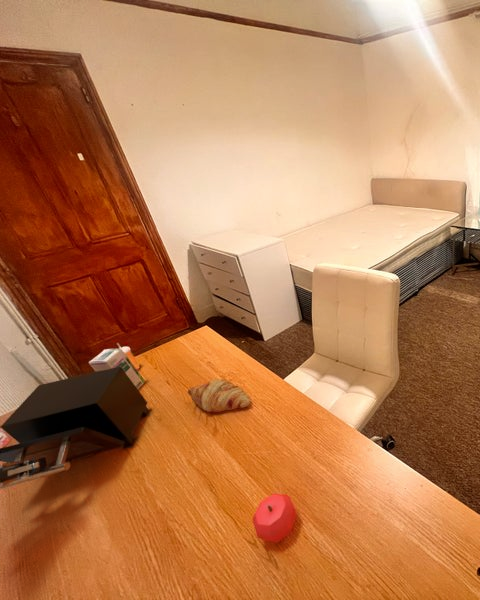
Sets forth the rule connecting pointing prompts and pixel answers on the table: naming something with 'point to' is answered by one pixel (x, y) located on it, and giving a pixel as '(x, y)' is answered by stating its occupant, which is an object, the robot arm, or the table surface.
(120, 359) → the syrup box
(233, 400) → the croissant
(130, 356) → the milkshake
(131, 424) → the oven
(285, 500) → the apple
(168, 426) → the table surface
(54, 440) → the oven door
